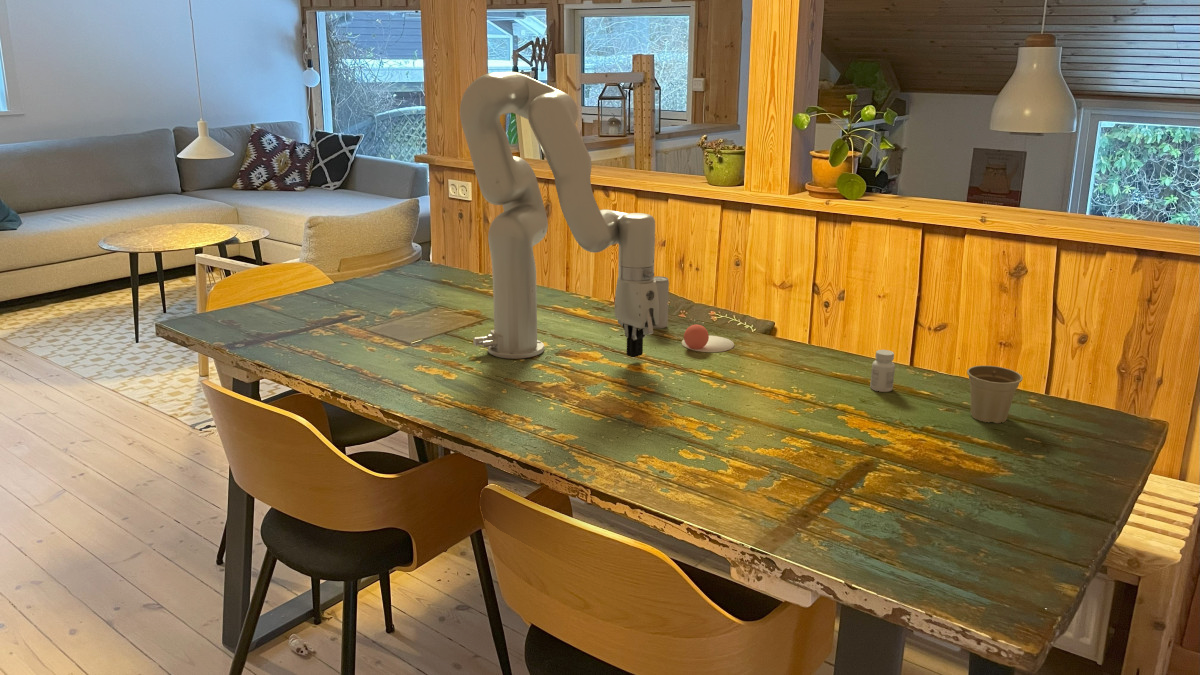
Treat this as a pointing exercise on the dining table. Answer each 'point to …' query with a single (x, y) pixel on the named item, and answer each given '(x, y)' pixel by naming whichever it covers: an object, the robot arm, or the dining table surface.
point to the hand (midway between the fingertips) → (634, 355)
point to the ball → (696, 336)
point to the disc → (714, 345)
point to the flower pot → (992, 392)
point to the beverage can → (662, 300)
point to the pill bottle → (883, 371)
